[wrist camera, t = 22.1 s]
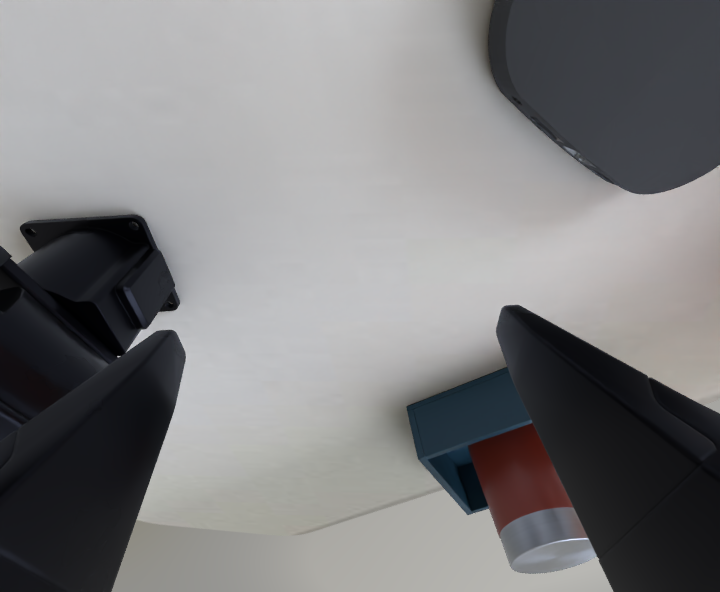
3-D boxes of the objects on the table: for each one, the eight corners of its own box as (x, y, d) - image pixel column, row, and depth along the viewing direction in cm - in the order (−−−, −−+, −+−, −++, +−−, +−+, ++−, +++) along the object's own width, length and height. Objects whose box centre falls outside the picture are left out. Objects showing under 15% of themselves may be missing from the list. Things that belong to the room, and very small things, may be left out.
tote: (452, 466, 39) (467, 515, 35) (406, 406, 31) (417, 459, 27) (570, 426, 36) (602, 474, 32) (549, 350, 28) (585, 400, 24)
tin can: (482, 448, 36) (533, 579, 27) (447, 423, 33) (493, 562, 24) (541, 419, 34) (618, 553, 25) (510, 389, 30) (586, 530, 21)
